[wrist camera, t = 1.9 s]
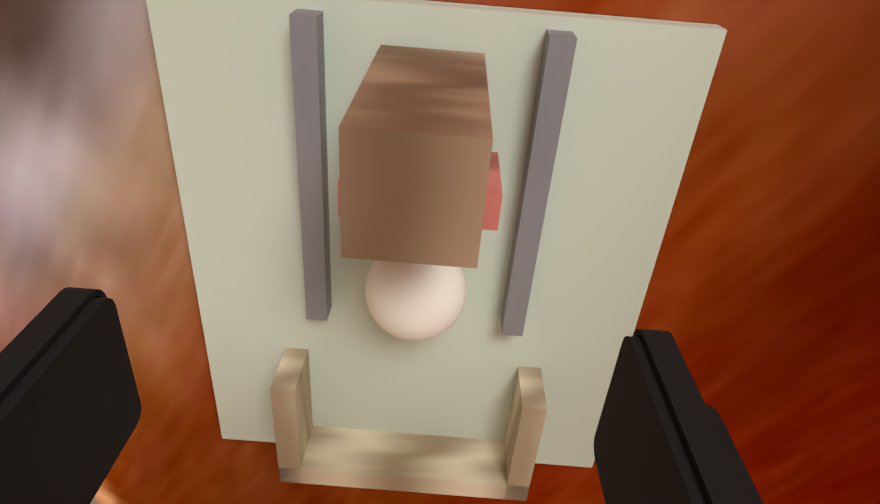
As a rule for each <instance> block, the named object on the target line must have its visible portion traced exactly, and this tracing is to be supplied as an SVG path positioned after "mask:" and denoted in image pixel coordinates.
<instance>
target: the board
mask: <svg viewBox="0 0 880 504" xmlns="http://www.w3.org/2000/svg"><path fill="white" fill-rule="evenodd" d="M146 3H147V9H148V15H149V21H150V26H151V32H152V38H153V44H154V49H155V55H156V61H157V67H158V72H159V78H160V84H161V90H162V95H163V101H164V107H165V113H166V118H167V124H168V130H169V136H170V141H171V147H172V153H173V159H174V164H175V170H176V176H177V182H178V187H179V193H180V199H181V205H182V210H183V216H184V222H185V228H186V233H187V239H188V245H189V251H190V256H191V262H192V268H193V274H194V279H195V285H196V291H197V297H198V302H199V308H200V314H201V320H202V325H203V331H204V337H205V343H206V348H207V354H208V360H209V366H210V371H211V377H212V383H213V389H214V394H215V400H216V406H217V412H218V417H219V423H220V429H221V435H222V438H223V439H236V440H248V441H261V442H274V443H276V440H275V431H274V421H273V412H272V402H271V393H270V387H271V385H272V382H273V379H274V377H275V374H276V372H277V369H278V366H279V364H280V361H281V359H282V356H283V353H284V351H285V348H298V349H308V350H309V368H310V385H311V402H312V420H313V426H322V427H335V428H347V429H360V430H373V431H385V432H398V433H411V434H423V435H436V436H448V437H461V438H474V439H486V440H499V441H504V439H505V434H506V429H507V423H508V418H509V412H510V407H511V402H512V396H513V391H514V386H515V380H516V375H517V369H518V366H523V367H536V368H541V373H542V380H543V386H544V393H545V400H546V406H547V413H546V417H545V422H544V426H543V430H542V435H541V439H540V443H539V448H538V452H537V456H536V460H535V463H539V464H552V465H565V466H577V467H590V468H592V466H593V463H594V459H595V456H594V437H595V433H596V429H597V426H598V423H599V419H600V416H601V412H602V409H603V406H604V402H605V399H606V395H607V392H608V389H609V385H610V382H611V378H612V375H613V372H614V368H615V365H616V361H617V358H618V355H619V351H620V348H621V344H622V341H623V339H624V337H625V336H633V333H634V330H635V327H636V324H637V320H638V317H639V314H640V311H641V307H642V304H643V301H644V298H645V294H646V291H647V288H648V285H649V282H650V278H651V275H652V272H653V269H654V265H655V262H656V259H657V256H658V252H659V249H660V246H661V243H662V239H663V236H664V233H665V230H666V227H667V223H668V220H669V217H670V214H671V210H672V207H673V204H674V201H675V197H676V194H677V191H678V188H679V184H680V181H681V178H682V175H683V172H684V168H685V165H686V162H687V159H688V155H689V152H690V149H691V146H692V142H693V139H694V136H695V133H696V130H697V126H698V123H699V120H700V117H701V113H702V110H703V107H704V104H705V100H706V97H707V94H708V91H709V87H710V84H711V81H712V78H713V75H714V71H715V68H716V65H717V62H718V58H719V55H720V52H721V49H722V45H723V42H724V39H725V36H726V33H727V30H726V29H724V28H723V27H721V26H719V25H716V24H704V23H692V22H680V21H668V20H656V19H644V18H632V17H620V16H608V15H596V14H584V13H572V12H559V11H547V10H535V9H523V8H511V7H499V6H487V5H475V4H463V3H451V2H439V1H427V0H146ZM380 45H392V46H404V47H416V48H428V49H441V50H453V51H465V52H477V53H485V62H486V72H487V82H488V92H489V102H490V113H491V123H492V133H493V145H492V152H498V158H499V167H500V176H501V185H502V194H503V196H502V203H501V210H500V217H499V225H498V231H495V230H482V233H481V241H480V249H479V258H478V266H477V268H464V267H461V268H462V270H463V272H464V276H465V279H466V287H467V294H466V301H465V305H464V308H463V310H462V313H461V314H460V316H459V318H458V319H457V321H456V322H455V323H454V324H453V325H452V326H451V327H450V328H449V329H448V330H447V331H446V332H444V333H443V334H441V335H439V336H437V337H435V338H432V339H429V340H424V341H408V340H403V339H400V338H397V337H395V336H392V335H391V334H389V333H387V332H386V331H385V330H383V329H382V328H381V327H380V326H379V325H378V324H377V323H376V321H375V320H374V318H373V317H372V315H371V313H370V311H369V309H368V306H367V302H366V297H365V284H366V278H367V275H368V272H369V270H370V267H371V266H372V264H373V262H374V261H375V260H365V259H353V258H341V236H340V218H339V217H338V180H339V125H340V123H341V121H342V119H343V117H344V115H345V113H346V111H347V109H348V107H349V106H350V104H351V102H352V100H353V98H354V96H355V94H356V92H357V90H358V88H359V86H360V84H361V82H362V80H363V78H364V76H365V74H366V72H367V70H368V69H369V67H370V65H371V63H372V61H373V59H374V57H375V55H376V53H377V51H378V49H379V47H380Z"/></svg>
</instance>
